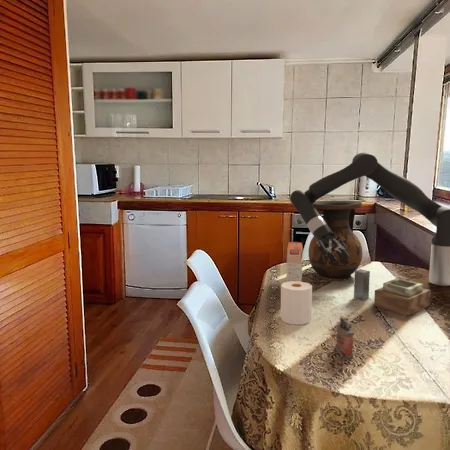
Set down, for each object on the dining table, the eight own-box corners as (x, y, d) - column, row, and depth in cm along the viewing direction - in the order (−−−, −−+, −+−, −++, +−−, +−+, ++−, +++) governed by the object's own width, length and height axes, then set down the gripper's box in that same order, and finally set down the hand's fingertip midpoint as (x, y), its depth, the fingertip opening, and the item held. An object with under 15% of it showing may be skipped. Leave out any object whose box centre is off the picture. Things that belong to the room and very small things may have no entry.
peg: (359, 295, 161) (360, 269, 159) (368, 298, 158) (369, 271, 156) (353, 297, 159) (354, 270, 157) (362, 300, 156) (364, 273, 154)
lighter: (333, 346, 117) (334, 313, 116) (344, 345, 118) (345, 313, 116) (343, 359, 109) (345, 324, 108) (355, 358, 110) (357, 324, 108)
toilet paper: (275, 316, 140) (275, 283, 139) (300, 311, 144) (301, 279, 143) (291, 327, 131) (291, 291, 129) (317, 322, 135) (318, 287, 133)
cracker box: (301, 302, 155) (302, 248, 151) (285, 301, 156) (286, 248, 153) (301, 290, 168) (302, 241, 165) (287, 289, 169) (288, 241, 166)
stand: (396, 296, 160) (397, 275, 158) (429, 305, 150) (431, 283, 148) (374, 305, 150) (375, 283, 148) (408, 315, 140) (409, 292, 138)
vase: (319, 266, 206) (321, 198, 201) (368, 273, 192) (371, 201, 187) (299, 277, 187) (300, 202, 182) (351, 286, 173) (354, 205, 167)
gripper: (314, 225, 164) (336, 257, 157) (335, 221, 173) (357, 252, 166) (303, 236, 169) (325, 268, 162) (325, 232, 178) (346, 262, 171)
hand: (341, 260), depth 164 cm, fingers open, 8 cm apart
